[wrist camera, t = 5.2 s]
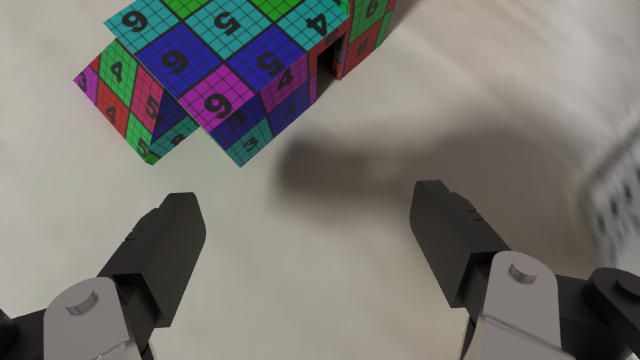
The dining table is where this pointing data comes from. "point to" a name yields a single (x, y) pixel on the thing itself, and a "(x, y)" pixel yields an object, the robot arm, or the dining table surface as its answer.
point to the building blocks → (223, 67)
